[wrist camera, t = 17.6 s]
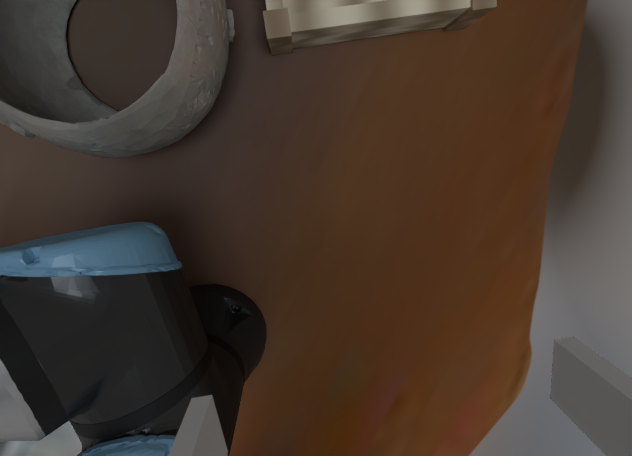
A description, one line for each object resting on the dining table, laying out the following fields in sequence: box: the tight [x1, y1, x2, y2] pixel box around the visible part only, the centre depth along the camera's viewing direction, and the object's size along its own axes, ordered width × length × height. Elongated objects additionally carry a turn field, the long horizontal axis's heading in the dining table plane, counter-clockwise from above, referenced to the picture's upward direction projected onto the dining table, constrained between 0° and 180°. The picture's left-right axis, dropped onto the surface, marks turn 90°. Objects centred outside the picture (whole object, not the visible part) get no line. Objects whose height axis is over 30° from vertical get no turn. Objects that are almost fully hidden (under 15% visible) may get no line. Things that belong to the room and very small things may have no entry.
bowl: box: [0, 0, 235, 158], centre depth 29 cm, size 23×23×15 cm
